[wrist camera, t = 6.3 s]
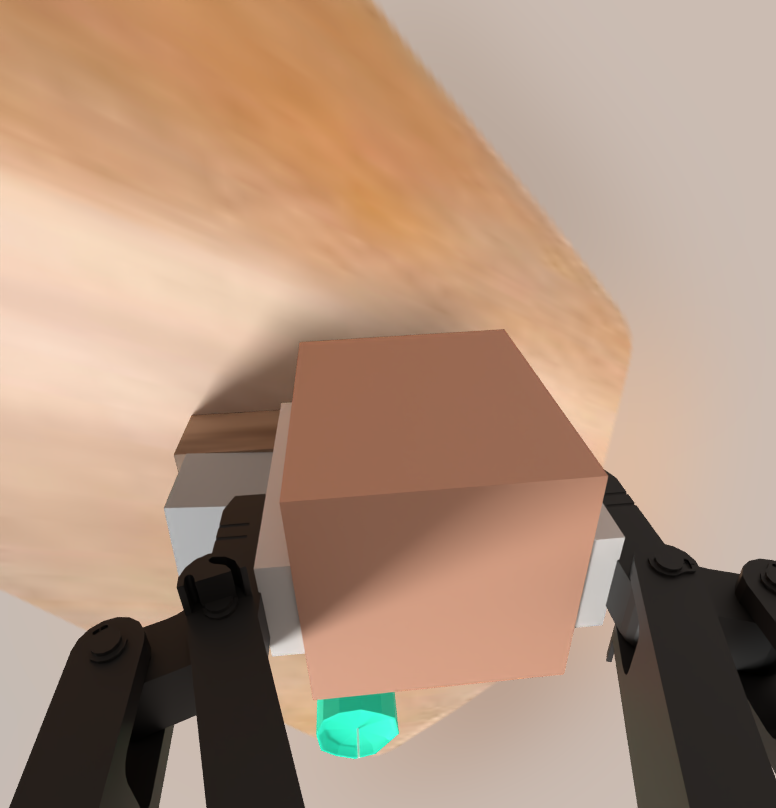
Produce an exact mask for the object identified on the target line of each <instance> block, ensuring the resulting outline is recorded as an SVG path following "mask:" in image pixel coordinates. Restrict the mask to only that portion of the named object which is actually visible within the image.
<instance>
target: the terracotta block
mask: <svg viewBox="0 0 776 808" xmlns="http://www.w3.org/2000/svg"><path fill="white" fill-rule="evenodd" d="M607 480H608V475H607V473H606V472H605V470H604V469H603V468H602V466H601V465H600V463H599V462H598V461H597V459H596V458H595V456H594V455H593V454H592V452H591V451H590V449H589V448H588V447H587V445H586V444H585V442H584V441H583V440H582V438H581V437H580V435H579V434H578V432H577V431H576V430H575V428H574V427H573V425H572V424H571V423H570V421H569V420H568V418H567V417H566V416H565V414H564V413H563V411H562V410H561V409H560V407H559V406H558V404H557V403H556V401H555V400H554V399H553V397H552V396H551V394H550V393H549V392H548V390H547V389H546V387H545V386H544V385H543V383H542V382H541V380H540V379H539V378H538V376H537V375H536V373H535V372H534V370H533V369H532V368H531V366H530V365H529V363H528V362H527V361H526V359H525V358H524V356H523V355H522V354H521V352H520V351H519V349H518V348H517V347H516V345H515V344H514V342H513V341H512V340H511V338H510V337H509V335H508V334H507V332H506V331H505V330H504V329H501V330H485V331H469V332H453V333H438V334H422V335H406V336H390V337H374V338H358V339H342V340H326V341H310V342H300V343H299V351H298V359H297V367H296V375H295V383H294V391H293V399H292V406H291V414H290V422H289V430H288V438H287V446H286V454H285V462H284V470H283V478H282V486H281V494H280V501H279V503H280V509H281V515H282V521H283V527H284V533H285V539H286V544H287V550H288V556H289V562H290V568H291V574H292V580H293V585H294V591H295V597H296V603H297V609H298V615H299V621H300V627H301V632H302V638H303V644H304V650H305V656H306V662H307V668H308V673H309V679H310V685H311V691H312V697H313V700H321V699H331V698H340V697H350V696H360V695H369V694H379V693H389V692H398V691H408V690H417V689H427V688H437V687H446V686H456V685H466V684H475V683H485V682H495V681H504V680H514V679H524V678H533V677H543V676H552V675H561V674H564V672H565V668H566V663H567V659H568V654H569V650H570V645H571V641H572V636H573V632H574V628H575V623H576V619H577V614H578V610H579V605H580V601H581V596H582V592H583V587H584V583H585V578H586V574H587V569H588V565H589V560H590V556H591V551H592V547H593V542H594V538H595V533H596V529H597V524H598V520H599V516H600V511H601V507H602V502H603V498H604V493H605V489H606V484H607Z"/></svg>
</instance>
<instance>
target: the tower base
mask: <svg viewBox="0 0 776 808" xmlns="http://www.w3.org/2000/svg"><path fill="white" fill-rule="evenodd" d="M279 414H280V410H273V411H257V412H241V413H224V414H208V415H192V416H191V418H190V420H189V422H188V424H187V427H186V429H185V431H184V433H183V436H182V438H181V440H180V442H179V444H178V447H177V449H176V451H175V453H174V458H175V462H176V465H177V469H178V473H179V470H180V468H181V465H182V463H183V461H184V458H185V456H186V454H192V453H246V452H273V450H274V444H275V438H276V432H277V426H278V420H279Z"/></svg>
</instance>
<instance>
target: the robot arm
mask: <svg viewBox="0 0 776 808" xmlns="http://www.w3.org/2000/svg"><path fill="white" fill-rule="evenodd" d="M291 406H292V402H289V403H281V408H280V414H279V420H278V426H277V432H276V438H275V444H274V450H273V456H272V462H271V468H270V474H269V480H268V486H267V492H266V494H254V495H241V496H234V498H233V499H232V500H231V501H230V502H229V504H228V505H227V506H226V507H225V508H224V510H223V512H222V516H221V520H220V524H219V528H218V531H217V535H216V541H215V543H214V547H213V551H212V553H210V554H206V555H204V556H202V557H200V558H197V559H195V560H194V561H193V562H191V563H190V564H189V565H188V566H186V567H185V568H184V570H183V571H182V573H181V574H180V576H179V577H178V583H177V590H178V593H179V596H180V599H181V602H182V606H183V609H184V610H183V611H182V612H180V613H179V614H177V615H175V616H173V617H171V618H168V619H166V620H163V621H160V622H157V623H155V624H152V625H149V626H146V627H142V626H141V624H140V622H138V621H136V620H134V619H132V618H130V617H116V618H113V619H109V620H106V621H103V622H101V623H99V624H97V625H96V626H94V627H92V628H90V629H89V630H88V631H87V632H86V633H85V634H84V635H83V636H82V637H80V638H79V639H78V641H77V642H76V644H75V646H74V647H73V649H72V650H71V652H70V655H69V657H68V660H67V663H66V666H65V668H64V670H63V673H62V675H61V678H60V680H59V683H58V685H57V688H56V690H55V693H54V696H53V698H52V701H51V703H50V706H49V708H48V711H47V713H46V716H45V718H44V721H43V723H42V726H41V728H40V731H39V733H38V736H37V739H36V741H35V744H34V746H33V749H32V751H31V754H30V756H29V759H28V761H27V764H26V766H25V769H24V771H23V774H22V776H21V779H20V782H19V784H18V787H17V789H16V792H15V794H14V797H13V799H12V802H11V804H10V807H9V808H159V803H160V798H161V792H162V787H163V781H164V776H165V771H166V765H167V760H168V755H169V749H170V744H171V738H172V733H173V728H174V724H177V723H179V722H181V721H184V720H186V719H188V718H191V717H193V716H195V715H197V724H198V733H199V742H200V751H201V760H202V769H203V779H204V788H205V798H206V807H207V808H305V806H304V802H303V798H302V794H301V790H300V786H299V782H298V778H297V774H296V770H295V765H294V761H293V757H292V754H291V750H290V745H289V741H288V737H287V733H286V729H285V725H284V721H283V717H282V713H281V709H280V705H279V701H278V696H277V692H276V688H275V684H274V680H273V676H272V672H271V668H270V664H269V660H268V654H269V645H270V648H271V653H272V656H282V655H293V654H303V653H305V650H304V644H303V638H302V632H301V627H300V621H299V615H298V609H297V603H296V597H295V591H294V585H293V580H292V574H291V568H290V562H289V556H288V550H287V544H286V539H285V533H284V527H283V521H282V515H281V509H280V503H279V501H280V494H281V486H282V478H283V470H284V462H285V454H286V446H287V438H288V430H289V422H290V414H291ZM605 472H606V473H607V475H608V480H607V484H606V489H605V493H604V498H603V502H602V507H601V511H600V516H599V520H598V524H597V529H596V533H595V538H594V542H593V547H592V551H591V556H590V560H589V565H588V569H587V574H586V578H585V583H584V587H583V592H582V596H581V601H580V605H579V610H578V614H577V619H576V623H575V628H577V627H588V626H598V625H602V624H603V620H604V616H605V613H606V609H608V611H609V613H610V615H611V617H612V618H613V620H614V622H615V626H614V630H613V633H612V637H611V640H610V644H609V648H608V651H607V659H606V661H608V662H612V658H613V655H614V654H615V661H616V667H617V674H618V681H619V687H620V694H621V701H622V706H623V714H624V720H625V727H626V733H627V740H628V746H629V753H630V759H631V766H632V773H633V779H634V786H635V792H636V799H637V805H638V808H776V778H775V775H774V773H773V770H774V772H775V773H776V561H773V560H766V559H756V560H751V561H749V562H747V563H746V564H745V565H744V566H743V568H742V570H741V573H740V574H736V573H730V572H724V571H718V570H712V569H707V568H702V567H699V566H698V564H697V563H696V561H695V560H694V559H693V558H692V557H690V556H689V555H688V554H687V553H686V552H684V551H682V550H680V549H677V548H675V547H673V546H670V545H666V544H664V543H663V541H662V540H661V539H660V537H659V536H658V535H657V533H656V532H655V530H654V529H653V528H652V527H651V525H650V523H649V522H648V521H647V519H646V518H645V517H644V515H643V514H642V512H641V511H640V510H639V508H638V507H637V506H636V505H634V502H633V500H632V499H631V497H630V496H629V495H628V494H626V491H625V489H624V488H623V487H622V485H621V484H620V483H619V481H618V480H617V478H615V477H614V476H613V475H611V474H610V473H608V472H607V471H606V470H605ZM771 766H772V767H771ZM772 768H773V770H772Z"/></svg>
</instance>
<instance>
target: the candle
mask: <svg viewBox="0 0 776 808" xmlns="http://www.w3.org/2000/svg"><path fill="white" fill-rule="evenodd" d="M398 734H399V731H398V721H397V711H396V701H395V692H389V693H379V694H369V695H360V696H350V697H340V698H331V699H321V700H317V731H316V735H317V739H318V742H319V745H320V749H321V750H322V751H324V752H327V753H330V754H333V755H335V756H340V757H347V758H354V759H356V758H360V757H365V756H369V755H373V754H376V753H377V752H378V751H379V750H380V749H382V748H383V747H384V746H385V745H386V744H387V743H389V742H390V741H391V740H392V739H393V738H394V737H395V736H397V735H398Z"/></svg>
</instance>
